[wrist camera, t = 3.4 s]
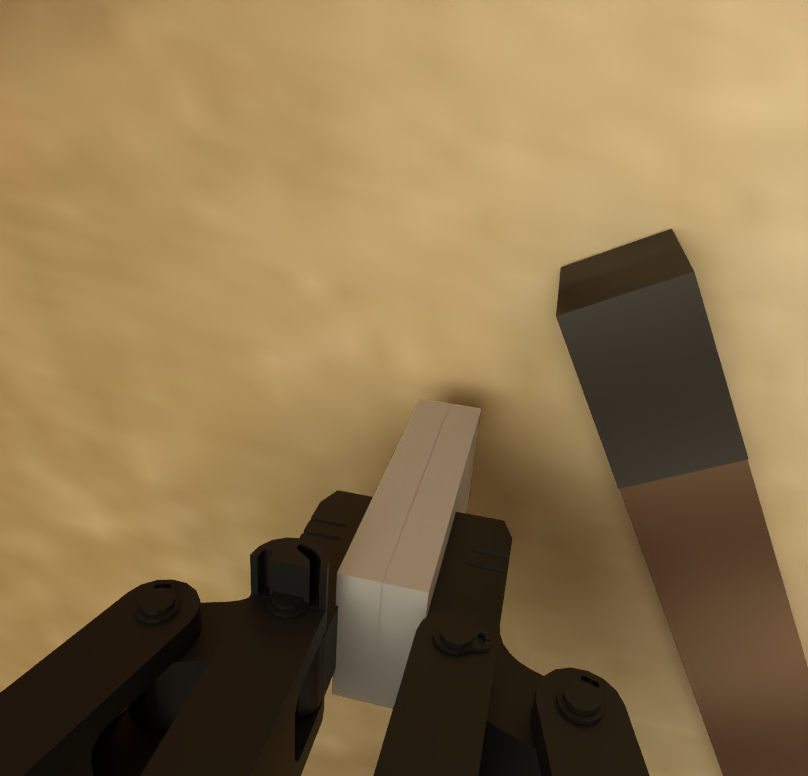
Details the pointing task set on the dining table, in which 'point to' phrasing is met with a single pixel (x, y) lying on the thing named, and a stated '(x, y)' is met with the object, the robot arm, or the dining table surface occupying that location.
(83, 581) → the dining table surface
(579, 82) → the dining table surface
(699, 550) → the bar
